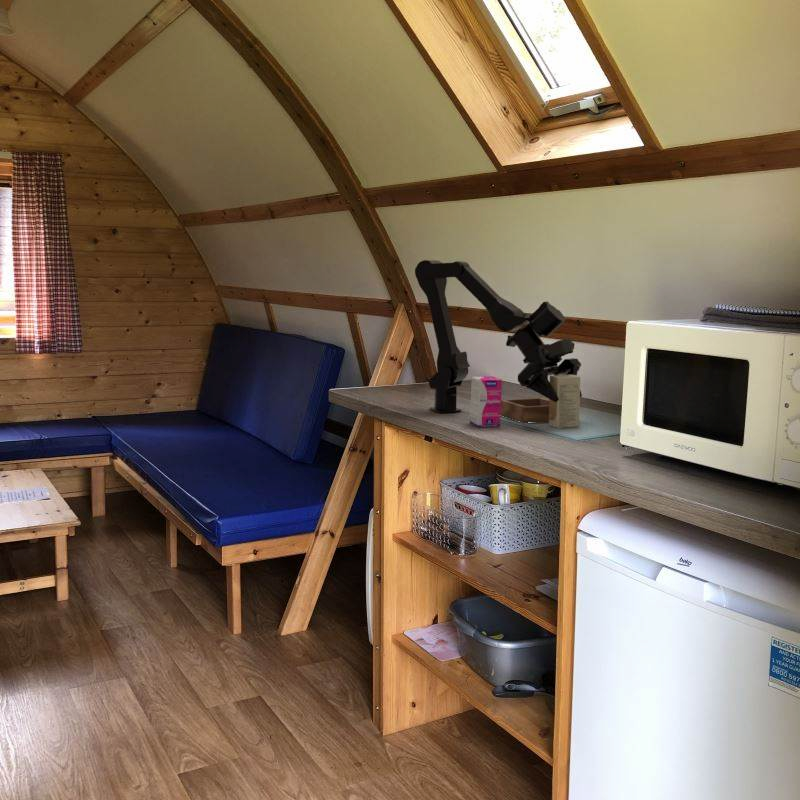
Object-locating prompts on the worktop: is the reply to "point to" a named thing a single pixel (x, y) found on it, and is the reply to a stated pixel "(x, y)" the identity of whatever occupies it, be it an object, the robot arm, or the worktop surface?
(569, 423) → the skincare box
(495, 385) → the supplement box
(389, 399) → the worktop surface
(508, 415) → the shallow wooden tray
